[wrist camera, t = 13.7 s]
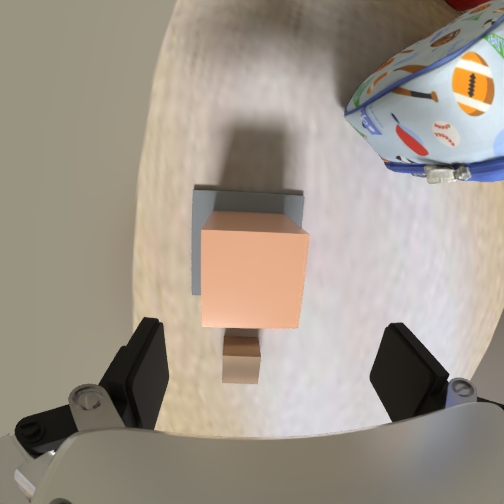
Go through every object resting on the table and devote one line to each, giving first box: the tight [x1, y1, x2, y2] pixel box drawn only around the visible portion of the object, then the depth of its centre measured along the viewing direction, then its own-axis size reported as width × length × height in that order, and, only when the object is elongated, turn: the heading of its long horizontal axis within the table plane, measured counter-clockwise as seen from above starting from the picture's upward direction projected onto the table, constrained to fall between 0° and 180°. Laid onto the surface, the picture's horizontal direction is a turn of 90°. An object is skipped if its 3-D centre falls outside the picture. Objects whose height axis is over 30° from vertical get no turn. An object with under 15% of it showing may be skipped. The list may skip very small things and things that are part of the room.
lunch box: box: [344, 0, 504, 184], centre depth 15 cm, size 28×10×22 cm, turn 135°
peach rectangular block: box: [201, 211, 310, 329], centre depth 24 cm, size 7×7×10 cm
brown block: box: [222, 336, 261, 384], centre depth 31 cm, size 4×4×4 cm
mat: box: [192, 190, 304, 295], centre depth 29 cm, size 11×11×1 cm
